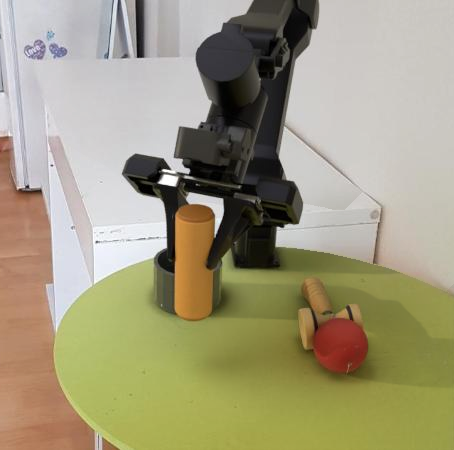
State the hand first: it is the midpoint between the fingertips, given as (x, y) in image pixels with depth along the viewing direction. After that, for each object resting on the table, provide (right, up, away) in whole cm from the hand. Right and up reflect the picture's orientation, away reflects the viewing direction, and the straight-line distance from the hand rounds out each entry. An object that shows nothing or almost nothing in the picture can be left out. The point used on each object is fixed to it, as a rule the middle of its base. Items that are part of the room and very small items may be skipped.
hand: (188, 264), depth 77 cm
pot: (-1, -5, +20) cm, 21 cm away
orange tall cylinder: (0, -5, +4) cm, 7 cm away
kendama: (+16, -9, +13) cm, 23 cm away
